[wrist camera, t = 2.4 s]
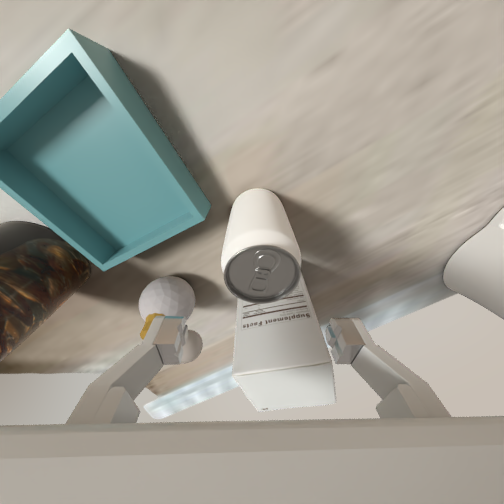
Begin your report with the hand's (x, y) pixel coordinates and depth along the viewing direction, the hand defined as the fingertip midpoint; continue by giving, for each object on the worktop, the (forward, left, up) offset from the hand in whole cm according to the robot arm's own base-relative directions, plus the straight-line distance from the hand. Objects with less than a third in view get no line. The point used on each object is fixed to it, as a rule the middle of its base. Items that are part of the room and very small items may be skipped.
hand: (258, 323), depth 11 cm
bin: (+12, -11, -16) cm, 22 cm away
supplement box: (+3, +12, -16) cm, 20 cm away
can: (0, 0, -16) cm, 16 cm away
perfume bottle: (+16, +5, -16) cm, 23 cm away
